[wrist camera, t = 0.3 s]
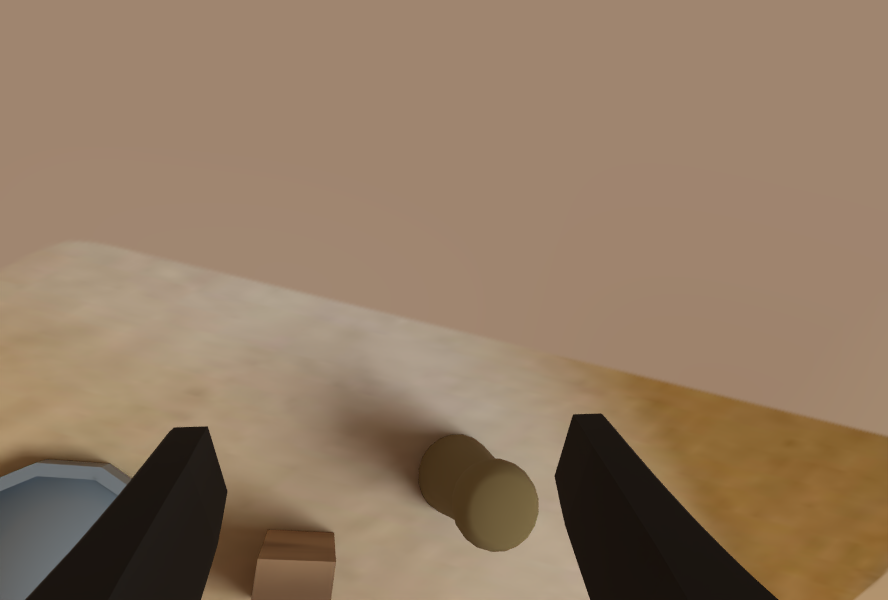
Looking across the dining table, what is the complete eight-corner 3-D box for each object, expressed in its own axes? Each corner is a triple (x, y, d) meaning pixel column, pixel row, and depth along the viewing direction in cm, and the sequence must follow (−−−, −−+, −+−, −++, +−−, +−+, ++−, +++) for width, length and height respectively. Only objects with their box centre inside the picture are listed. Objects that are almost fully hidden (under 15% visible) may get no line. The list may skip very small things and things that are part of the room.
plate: (150, 692, 33) (143, 705, 32) (-106, 696, 31) (-126, 710, 29) (191, 469, 36) (186, 472, 34) (-44, 452, 33) (-60, 455, 31)
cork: (405, 457, 39) (435, 489, 28) (473, 420, 41) (526, 437, 30) (439, 530, 39) (482, 590, 28) (506, 490, 41) (571, 532, 30)
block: (324, 600, 37) (324, 643, 31) (257, 599, 36) (244, 643, 30) (334, 532, 37) (335, 561, 32) (268, 529, 36) (257, 558, 31)
